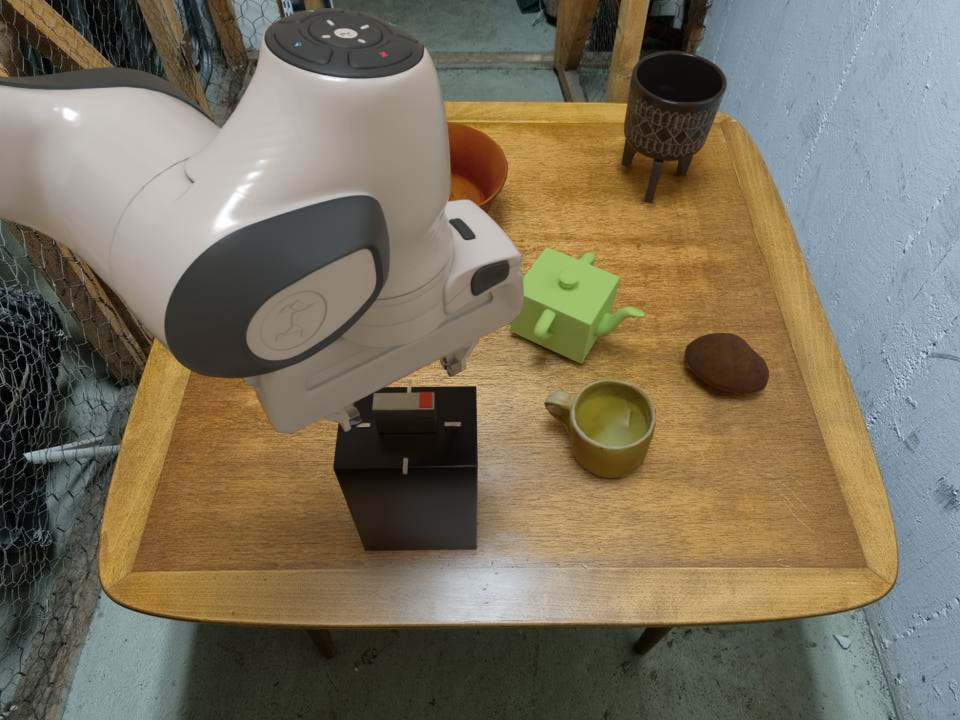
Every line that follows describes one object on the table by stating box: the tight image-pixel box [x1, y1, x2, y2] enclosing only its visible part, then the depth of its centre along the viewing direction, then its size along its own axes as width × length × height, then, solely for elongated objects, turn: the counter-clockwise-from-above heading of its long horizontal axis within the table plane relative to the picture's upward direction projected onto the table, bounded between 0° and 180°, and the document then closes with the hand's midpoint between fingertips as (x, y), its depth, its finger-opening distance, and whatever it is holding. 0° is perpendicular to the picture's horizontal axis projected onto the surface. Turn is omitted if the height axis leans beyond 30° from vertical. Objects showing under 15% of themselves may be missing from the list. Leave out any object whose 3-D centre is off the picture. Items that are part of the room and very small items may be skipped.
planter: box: [620, 50, 728, 204], centre depth 100 cm, size 13×13×18 cm
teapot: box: [509, 246, 645, 365], centre depth 85 cm, size 15×13×11 cm
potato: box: [683, 332, 770, 395], centre depth 82 cm, size 7×10×7 cm
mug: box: [543, 378, 657, 479], centre depth 77 cm, size 12×10×10 cm
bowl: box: [447, 121, 509, 215], centre depth 98 cm, size 21×21×10 cm
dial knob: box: [372, 392, 437, 433], centre depth 56 cm, size 5×2×4 cm, turn 91°
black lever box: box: [332, 379, 479, 552], centre depth 66 cm, size 12×9×20 cm
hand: (402, 393), depth 54 cm, fingers open, 8 cm apart
